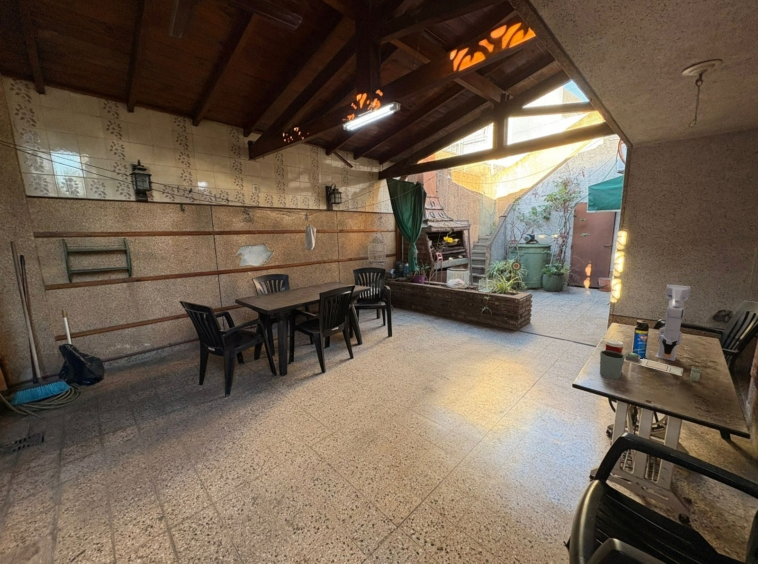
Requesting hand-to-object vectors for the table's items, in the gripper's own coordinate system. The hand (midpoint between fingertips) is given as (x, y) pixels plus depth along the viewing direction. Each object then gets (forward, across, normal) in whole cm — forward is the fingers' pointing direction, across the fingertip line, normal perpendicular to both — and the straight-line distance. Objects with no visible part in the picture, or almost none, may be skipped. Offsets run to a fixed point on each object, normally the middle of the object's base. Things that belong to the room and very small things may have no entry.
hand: (667, 353), depth 158 cm
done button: (+8, -1, -14) cm, 16 cm away
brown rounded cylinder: (+2, 0, 0) cm, 2 cm away
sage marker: (+9, +5, +11) cm, 16 cm away
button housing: (+9, -1, -14) cm, 16 cm away
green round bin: (+10, +30, -19) cm, 37 cm away
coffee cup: (+10, +18, -20) cm, 29 cm away
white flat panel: (+9, 0, -5) cm, 11 cm away
